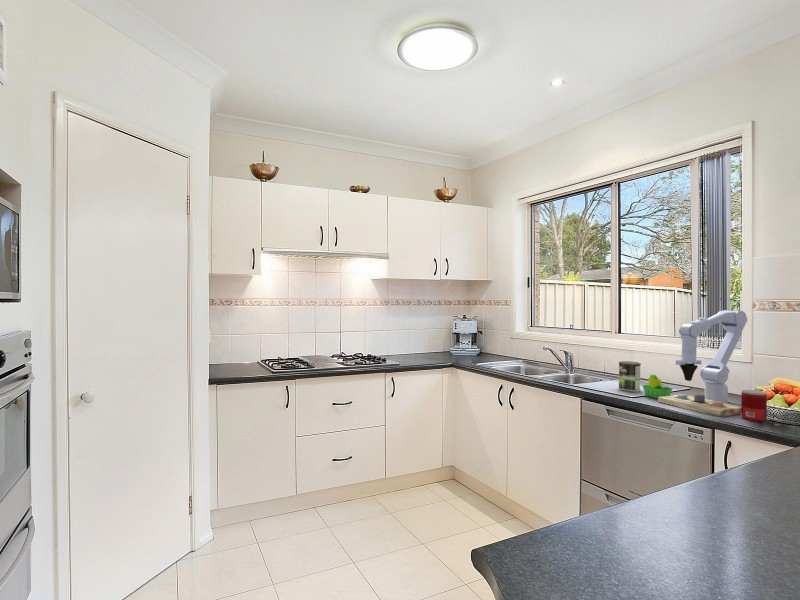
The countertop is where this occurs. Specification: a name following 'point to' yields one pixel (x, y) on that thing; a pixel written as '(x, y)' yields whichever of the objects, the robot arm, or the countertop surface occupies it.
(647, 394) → the fruit basket
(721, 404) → the button terracotta
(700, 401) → the button charcoal
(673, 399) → the panel
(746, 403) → the canned food
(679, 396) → the button slate
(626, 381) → the coffee can
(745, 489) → the countertop surface
